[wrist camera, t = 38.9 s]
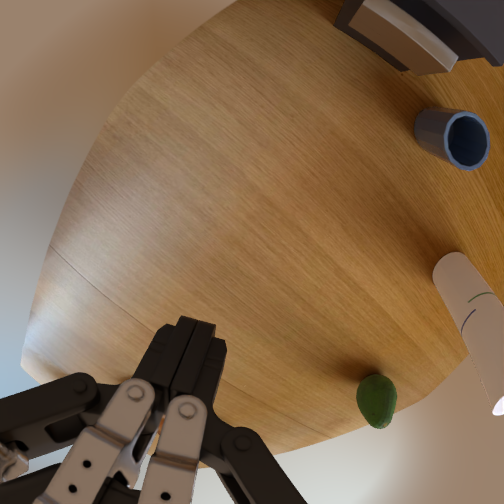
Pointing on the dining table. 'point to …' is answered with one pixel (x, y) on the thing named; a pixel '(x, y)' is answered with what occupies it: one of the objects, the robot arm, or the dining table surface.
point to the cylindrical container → (475, 321)
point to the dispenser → (444, 27)
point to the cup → (453, 136)
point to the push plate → (403, 37)
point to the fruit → (377, 400)
